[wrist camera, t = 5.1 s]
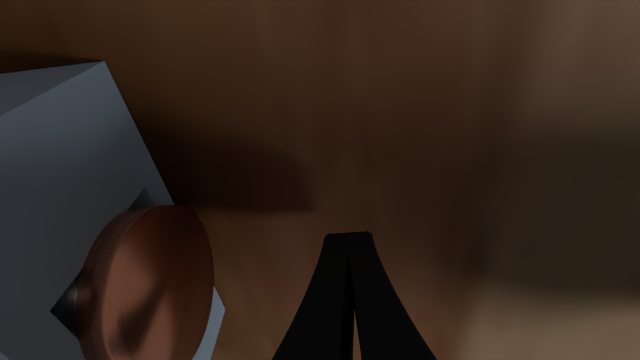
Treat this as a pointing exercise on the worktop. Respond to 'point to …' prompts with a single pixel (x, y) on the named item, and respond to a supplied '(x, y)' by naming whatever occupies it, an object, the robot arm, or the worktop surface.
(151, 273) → the pin
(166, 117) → the worktop surface
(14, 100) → the block
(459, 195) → the worktop surface
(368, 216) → the worktop surface
